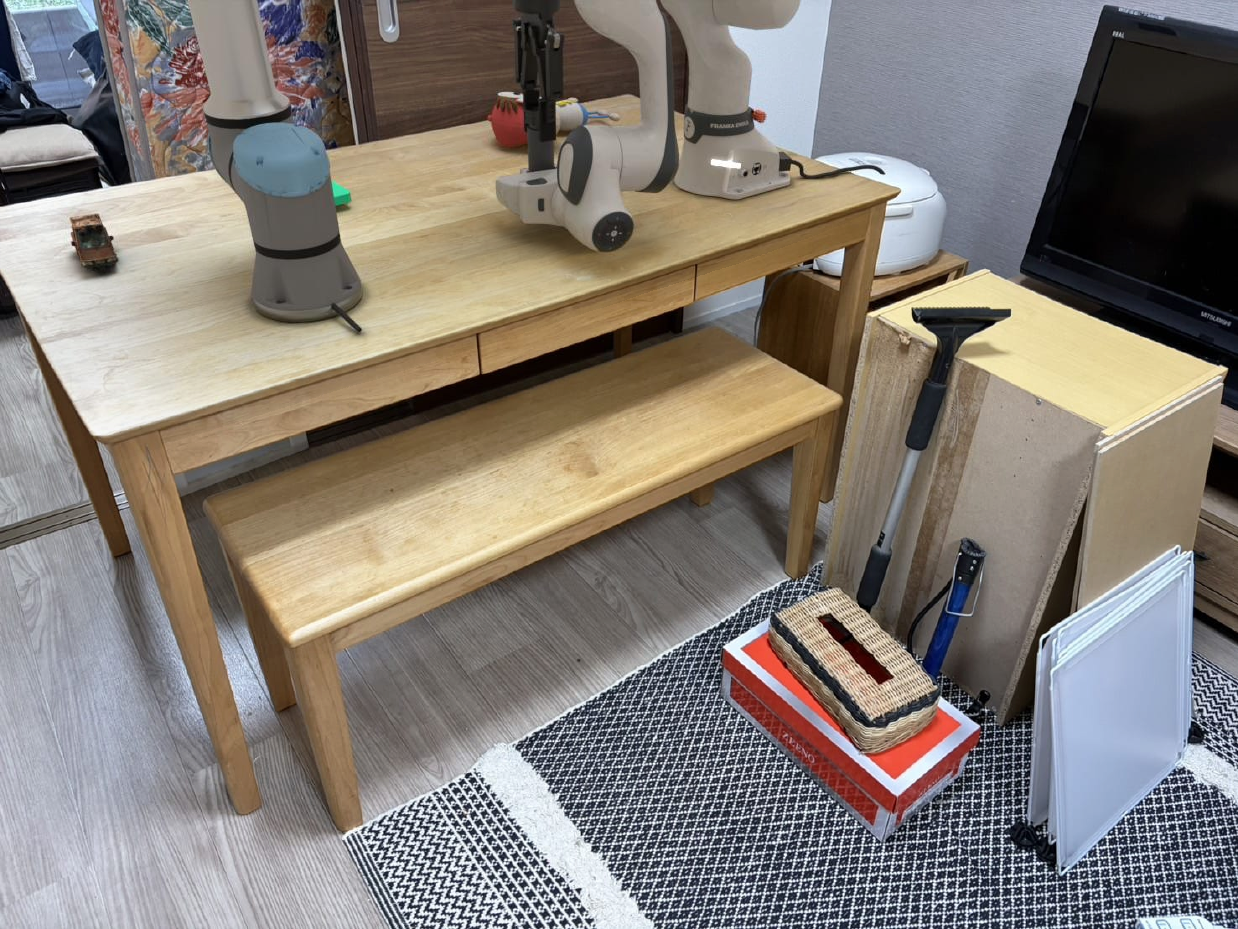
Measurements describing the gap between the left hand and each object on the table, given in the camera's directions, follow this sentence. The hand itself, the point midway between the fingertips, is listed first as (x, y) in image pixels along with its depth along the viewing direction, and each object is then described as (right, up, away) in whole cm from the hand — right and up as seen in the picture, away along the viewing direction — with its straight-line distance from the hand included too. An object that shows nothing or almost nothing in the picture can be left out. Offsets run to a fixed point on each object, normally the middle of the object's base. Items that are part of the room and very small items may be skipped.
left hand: (539, 135), depth 156 cm
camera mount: (-40, -9, +8) cm, 42 cm away
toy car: (-67, -24, -13) cm, 73 cm away
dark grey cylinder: (0, -10, +8) cm, 13 cm away
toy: (0, +14, +41) cm, 43 cm away
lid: (0, +3, -3) cm, 4 cm away
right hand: (0, -5, +4) cm, 6 cm away
